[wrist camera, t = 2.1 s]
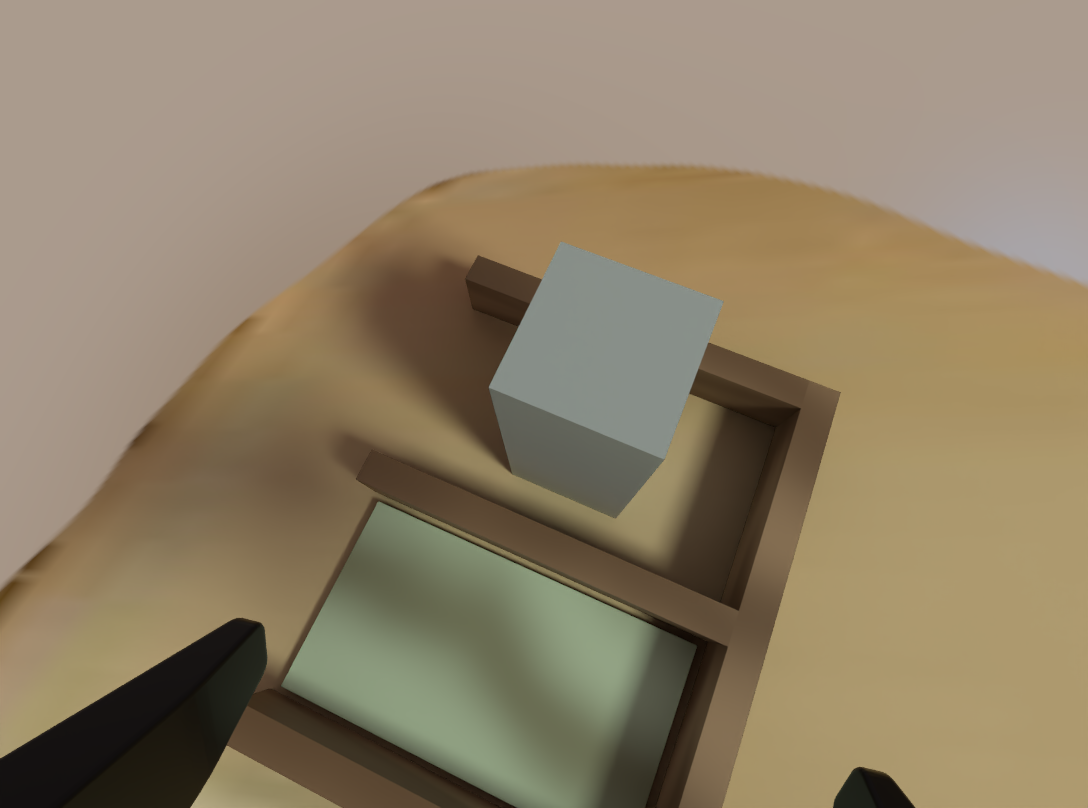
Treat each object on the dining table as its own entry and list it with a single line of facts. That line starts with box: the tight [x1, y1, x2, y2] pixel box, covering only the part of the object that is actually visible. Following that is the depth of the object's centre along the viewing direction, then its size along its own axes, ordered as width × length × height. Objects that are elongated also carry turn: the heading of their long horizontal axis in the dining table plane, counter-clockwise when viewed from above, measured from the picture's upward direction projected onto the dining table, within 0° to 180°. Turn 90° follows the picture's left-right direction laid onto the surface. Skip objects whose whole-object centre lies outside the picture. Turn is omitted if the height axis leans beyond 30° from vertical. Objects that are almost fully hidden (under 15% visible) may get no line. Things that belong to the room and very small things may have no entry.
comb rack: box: [227, 256, 841, 808], centre depth 21 cm, size 19×15×2 cm
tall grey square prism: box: [489, 242, 724, 519], centre depth 19 cm, size 4×4×10 cm
